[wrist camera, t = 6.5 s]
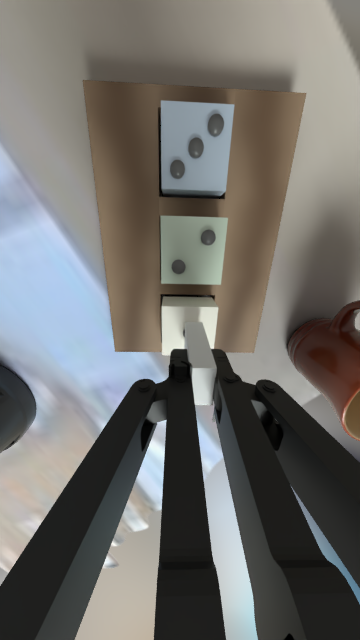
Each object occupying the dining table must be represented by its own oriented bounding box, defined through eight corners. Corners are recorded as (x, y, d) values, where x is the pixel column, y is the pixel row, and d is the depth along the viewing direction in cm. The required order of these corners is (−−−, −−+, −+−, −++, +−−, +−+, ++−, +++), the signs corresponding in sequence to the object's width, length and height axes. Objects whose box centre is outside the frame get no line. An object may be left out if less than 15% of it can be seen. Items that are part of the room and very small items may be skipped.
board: (119, 342, 24) (115, 351, 22) (93, 99, 15) (82, 80, 13) (247, 344, 24) (253, 352, 22) (290, 110, 16) (306, 93, 14)
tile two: (163, 276, 19) (161, 284, 16) (162, 219, 17) (160, 215, 14) (213, 277, 19) (221, 285, 16) (218, 221, 17) (229, 217, 14)
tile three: (163, 197, 18) (161, 187, 14) (163, 126, 16) (160, 97, 13) (217, 199, 18) (226, 190, 15) (223, 129, 16) (235, 101, 13)
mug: (340, 365, 26) (437, 437, 16) (276, 373, 26) (334, 449, 17) (360, 276, 21) (508, 305, 12) (281, 288, 22) (365, 325, 12)
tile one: (163, 339, 22) (161, 357, 18) (163, 296, 20) (161, 307, 16) (207, 339, 22) (213, 357, 19) (211, 297, 20) (219, 308, 17)
